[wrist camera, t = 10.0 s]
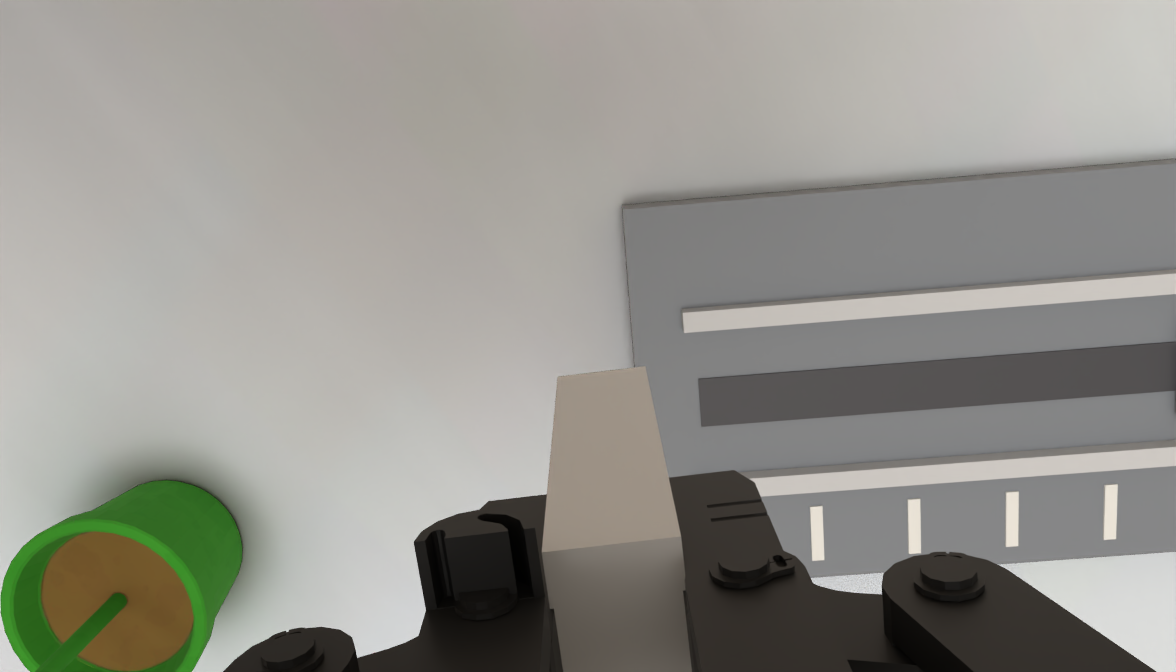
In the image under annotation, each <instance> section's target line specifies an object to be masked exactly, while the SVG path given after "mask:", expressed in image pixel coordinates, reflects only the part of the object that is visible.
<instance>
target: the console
mask: <svg viewBox="0 0 1176 672" xmlns="http://www.w3.org/2000/svg"><path fill="white" fill-rule="evenodd" d="M622 213H623V226H624V239H625V252H626V265H627V278H628V291H629V304H630V317H631V330H632V343H633V357H634V368H635V367H643V366H645V368H646V372H647V377H648V382H649V386H650V391H651V396H652V401H653V405H654V410H655V415H656V420H657V424H658V429H659V434H660V439H661V443H662V448H663V453H664V458H665V462H666V467H667V472H668V477H678V476H687V475H695V474H704V473H712V472H721V471H729V470H735V471H737V472H738V473H740V474H742V475H743V476H745V477H747V478H748V479H750V480H752V481H753V482H755V484H756V487H757V489H758V491H759V494H760V496H761V498H762V502H763V503H764V506H765V508H766V510H767V514H768V515H769V517H770V520H771V522H772V525H773V527H774V529H775V532H776V534H777V536H778V539H779V541H780V543H781V546H782V548H783V551H785V552H788V553H790V554H792V555H794V556H796V557H797V558H798V559H799V560H800V561H801V562H802V563H803V564H804V566H805V567H806V569H807V571H808V574H809V576H810V578H814V577H828V576H842V575H856V574H870V573H884V572H886V571H887V570H888V569H889V568H890V567H891V566H892V565H893V564H895V563H897V562H899V561H902V560H905V559H907V558H910V557H912V556H918V555H925V554H930V553H932V552H946V553H949V552H958V553H964V554H966V555H969V556H973V557H977V558H982V559H986V560H989V561H991V562H993V563H995V564H1010V563H1024V562H1038V561H1052V560H1066V559H1080V558H1093V557H1107V556H1121V555H1135V554H1149V553H1163V552H1176V159H1166V160H1154V161H1142V162H1130V163H1118V164H1106V165H1094V166H1082V167H1070V168H1058V169H1046V170H1034V171H1022V172H1010V173H998V174H986V175H974V176H963V177H951V178H939V179H927V180H915V181H903V182H891V183H879V184H867V185H855V186H843V187H831V188H819V189H807V190H795V191H783V192H771V193H759V194H747V195H735V196H723V197H711V198H699V199H687V200H675V201H663V202H651V203H639V204H627V205H622Z"/></svg>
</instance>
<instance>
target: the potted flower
mask: <svg viewBox="0 0 1176 672" xmlns="http://www.w3.org/2000/svg"><path fill="white" fill-rule="evenodd" d="M241 562H242V544H241V538H240V534H239V531H238V529H237V526H236V523H235V521H234V520H233V518H232V516H231V515H230V513H229V512H228V510H227V509H226V508H225V507H224V506H223V505H222V504H221V503H220V502H219V501H218V500H217V499H216V498H215V497H213V496H212V495H211V494H209V493H208V492H206V491H204V490H202V489H200V488H198V487H196V486H193V485H190V484H187V483H183V482H179V481H169V480H162V481H152V482H148V483H145V484H141V485H139V486H137V487H135V488H133V489H131V490H129V491H127V492H125V493H123V494H122V495H120V496H118V497H116V498H114V499H112V500H111V501H109V502H107V503H105V504H103V505H101V506H100V507H98V508H96V509H94V510H92V511H89V512H85V513H82V514H78V515H75V516H71V517H69V518H67V519H65V520H63V521H62V522H60V523H58V524H56V525H54V526H52V527H50V528H48V529H47V530H45V531H43V532H41V533H39V534H38V535H36V536H35V537H34V538H33V539H31V540H30V541H29V542H28V543H27V544H25V545H24V546H23V547H22V548H21V550H20V551H19V552H18V553H17V555H16V556H15V557H14V559H13V560H12V561H11V564H10V566H9V568H8V570H7V573H6V575H5V577H4V581H3V586H2V591H1V616H2V620H3V625H4V629H5V633H6V635H7V637H8V639H9V642H10V644H11V646H12V648H13V650H14V652H15V653H16V655H17V656H18V657H19V659H20V660H21V662H22V663H23V665H24V666H25V667H26V668H27V669H28V670H29V671H30V672H192V670H193V669H194V668H195V666H196V664H197V662H198V660H199V658H200V656H201V654H202V653H203V651H204V649H205V647H206V645H207V643H208V641H209V639H210V637H211V633H212V629H213V625H214V621H215V617H216V615H217V613H218V611H219V609H220V607H221V606H222V604H223V602H224V600H225V598H226V596H227V594H228V592H229V590H230V588H231V587H232V585H233V583H234V581H235V579H236V577H237V575H238V573H239V569H240V565H241Z"/></svg>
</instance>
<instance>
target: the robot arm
mask: <svg viewBox="0 0 1176 672" xmlns="http://www.w3.org/2000/svg"><path fill="white" fill-rule="evenodd" d="M414 546H415V552H416V557H417V563H418V568H419V574H420V579H421V585H422V590H423V596H424V601H425V607H426V613H425V616H424V619H423V623H422V626H421V630H420V633H419V636H418V637H416V638H414V639H412V640H410V641H408V642H406V643H403V644H401V645H398V646H395V647H392V648H389V649H387V650H383V651H380V652H376V653H373V654H370V655H366V656H363V657H359V658H357V655H356V650H355V646H354V643H353V639H352V637H351V636H349V635H347V634H346V633H344V632H343V631H341V630H338V629H331V628H325V627H316V628H296V629H291V630H289V632H286V631H284V632H280V633H277V634H275V635H273V636H271V637H270V638H269V639H267V640H265V641H263V642H261V643H259V644H256V645H254V646H252V647H251V648H250V649H248V650H247V651H246V652H244V653H243V654H242V655H241V656H239V657H238V658H237V659H235V660H234V661H233V662H232V663H231V664H230V665H229V666H228V667H227V668H226V669H225V670H224V671H223V672H1156V671H1155V670H1153V669H1152V668H1150V667H1149V666H1147V665H1146V664H1144V663H1143V662H1141V661H1140V660H1139V659H1137V658H1136V657H1134V656H1133V655H1131V654H1130V653H1128V652H1127V651H1125V650H1124V649H1122V648H1121V647H1120V646H1118V645H1117V644H1115V643H1114V642H1112V641H1111V640H1109V639H1108V638H1106V637H1105V636H1103V635H1102V634H1101V633H1099V632H1098V631H1096V630H1095V629H1093V628H1092V627H1090V626H1089V625H1087V624H1086V623H1084V622H1083V621H1082V620H1080V619H1079V618H1077V617H1076V616H1074V615H1073V614H1071V613H1070V612H1068V611H1067V610H1065V609H1064V608H1063V607H1061V606H1060V605H1058V604H1057V603H1055V602H1054V601H1052V600H1051V599H1049V598H1048V597H1046V596H1045V595H1044V594H1042V593H1041V592H1039V591H1038V590H1036V589H1035V588H1033V587H1032V586H1030V585H1029V584H1027V583H1026V582H1025V581H1023V580H1022V579H1020V578H1019V577H1017V576H1016V575H1014V574H1013V573H1011V572H1010V571H1008V570H1007V569H1005V568H1003V567H1001V566H999V565H997V564H995V563H993V562H991V561H989V560H986V559H982V558H977V557H973V556H969V555H966V554H964V553H958V552H949V553H946V552H932V553H930V554H925V555H918V556H912V557H910V558H907V559H905V560H902V561H899V562H897V563H895V564H893V565H892V566H891V567H890V568H889V569H888V570H887V571H886V572H885V573H884V574H883V581H882V595H880V594H863V593H851V592H843V591H836V590H832V589H828V588H824V587H820V586H817V585H815V584H813V582H812V580H811V578H810V576H809V574H808V571H807V569H806V567H805V566H804V564H803V563H802V562H801V561H800V560H799V559H798V558H797V557H796V556H794V555H792V554H790V553H788V552H785V551H783V548H782V546H781V543H780V541H779V539H778V536H777V534H776V532H775V529H774V527H773V525H772V522H771V520H770V517H769V515H768V514H767V510H766V508H765V506H764V503H763V502H762V498H761V496H760V494H759V491H758V489H757V487H756V484H755V482H753V481H752V480H750V479H748V478H747V477H745V476H743V475H742V474H740V473H738V472H737V471H735V470H729V471H721V472H712V473H704V474H695V475H687V476H678V477H668V472H667V467H666V462H665V458H664V453H663V448H662V443H661V439H660V434H659V429H658V424H657V420H656V415H655V410H654V405H653V401H652V396H651V391H650V386H649V382H648V377H647V372H646V368H645V366H643V367H635V368H626V369H618V370H610V371H601V372H593V373H585V374H576V375H568V376H559V377H558V379H557V390H556V401H555V412H554V423H553V434H552V445H551V455H550V466H549V477H548V488H547V495H538V496H530V497H521V498H512V499H504V500H495V501H488V502H487V503H486V504H485V505H484V506H483V507H482V508H481V509H480V510H476V511H471V512H466V513H460V514H457V515H454V516H451V517H448V518H446V519H443V520H440V521H438V522H436V523H434V524H433V525H431V526H430V527H428V528H426V529H425V530H423V531H422V532H421V533H420V535H419V536H418V537H417V538H416V540H415V541H414Z"/></svg>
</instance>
